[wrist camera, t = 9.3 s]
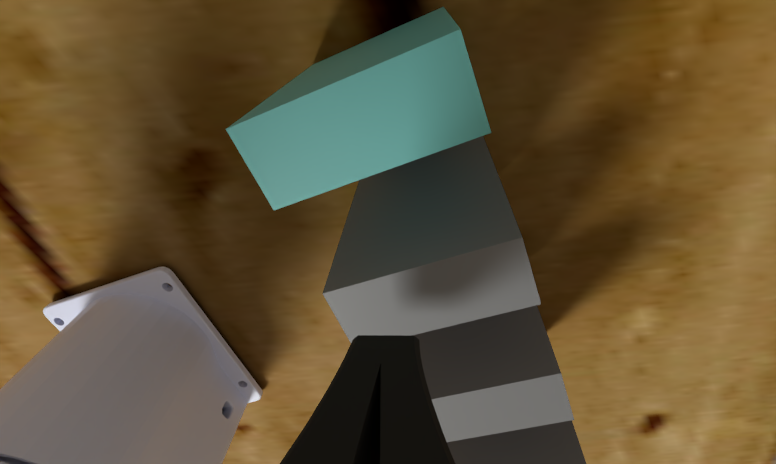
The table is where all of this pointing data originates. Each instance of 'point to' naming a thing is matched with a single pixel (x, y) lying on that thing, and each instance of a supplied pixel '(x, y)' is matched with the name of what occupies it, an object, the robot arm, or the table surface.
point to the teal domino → (364, 112)
